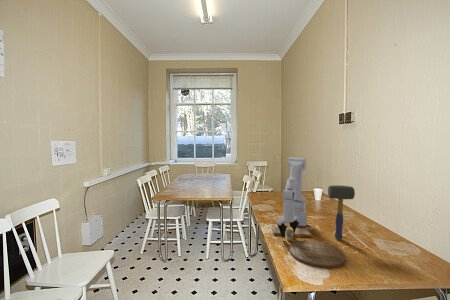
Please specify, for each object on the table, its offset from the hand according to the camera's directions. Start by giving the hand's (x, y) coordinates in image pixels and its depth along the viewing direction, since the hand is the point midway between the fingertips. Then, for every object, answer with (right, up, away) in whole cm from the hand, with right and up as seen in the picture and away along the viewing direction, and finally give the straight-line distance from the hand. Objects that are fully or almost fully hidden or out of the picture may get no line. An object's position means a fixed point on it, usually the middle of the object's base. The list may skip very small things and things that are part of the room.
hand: (287, 235), depth 136 cm
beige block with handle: (+1, -1, +3) cm, 4 cm away
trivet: (+9, -3, -18) cm, 20 cm away
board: (+4, -1, +7) cm, 8 cm away
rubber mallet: (+28, -3, +1) cm, 29 cm away
